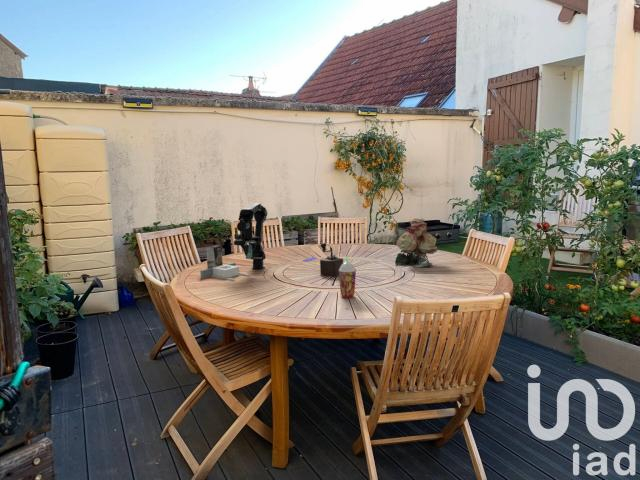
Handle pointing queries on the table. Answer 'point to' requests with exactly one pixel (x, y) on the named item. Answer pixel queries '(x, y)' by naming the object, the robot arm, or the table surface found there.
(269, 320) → the table surface
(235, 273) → the socket block
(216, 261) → the coffee box
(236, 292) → the table surface
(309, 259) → the booklet
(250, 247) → the dowel
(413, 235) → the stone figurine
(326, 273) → the black box with stems
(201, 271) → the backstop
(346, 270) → the smoothie
